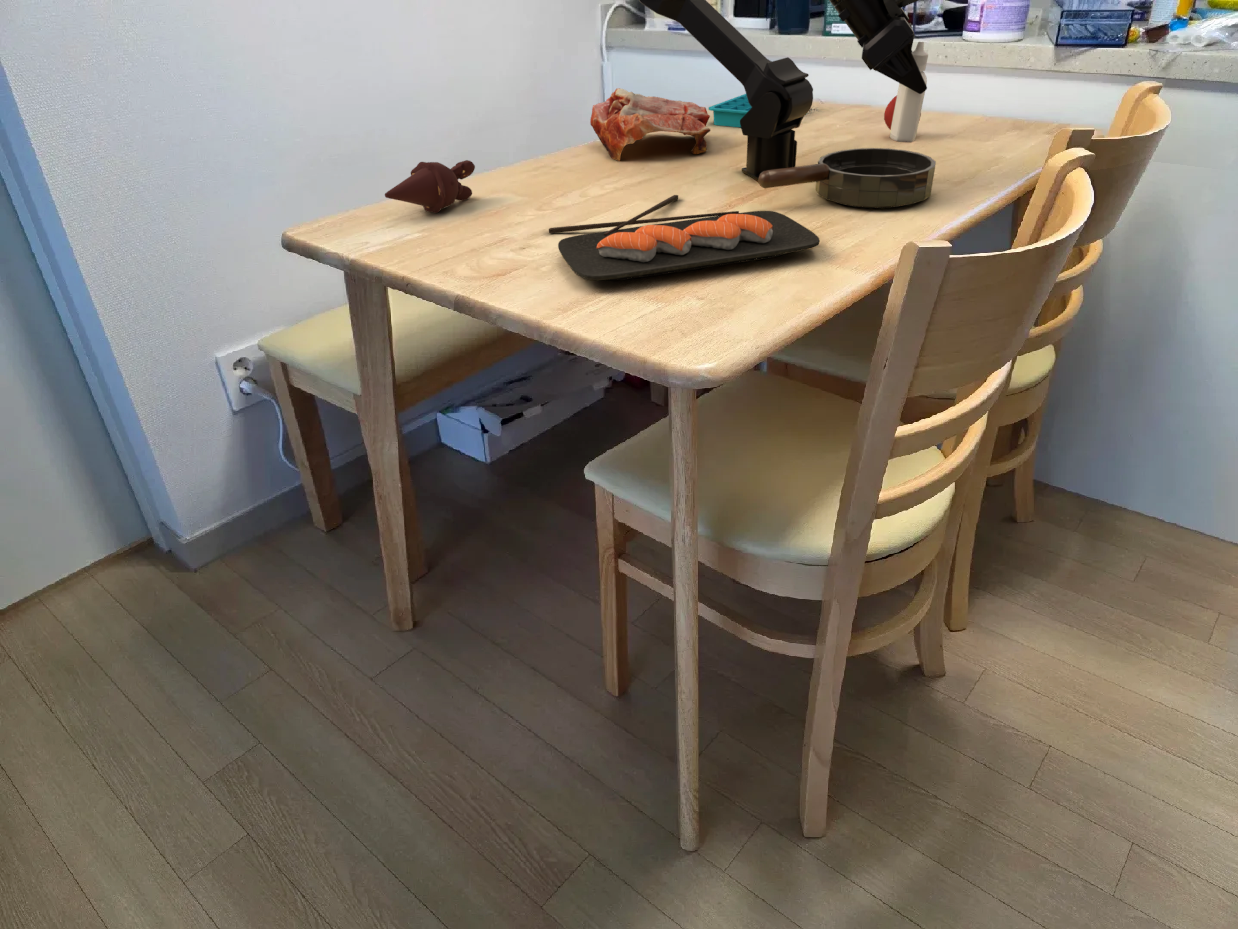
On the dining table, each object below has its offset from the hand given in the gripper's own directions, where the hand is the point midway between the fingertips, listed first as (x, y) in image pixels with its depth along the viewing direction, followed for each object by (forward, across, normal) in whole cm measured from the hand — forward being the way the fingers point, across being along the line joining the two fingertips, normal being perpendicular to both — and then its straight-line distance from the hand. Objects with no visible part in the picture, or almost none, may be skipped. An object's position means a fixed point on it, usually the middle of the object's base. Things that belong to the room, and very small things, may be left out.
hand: (922, 87), depth 110 cm
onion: (+9, +30, +9) cm, 32 cm away
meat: (-18, +20, +40) cm, 48 cm away
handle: (-3, -12, +18) cm, 22 cm away
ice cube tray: (-8, +46, +28) cm, 54 cm away
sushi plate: (-10, -26, +31) cm, 42 cm away
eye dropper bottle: (+4, 0, +6) cm, 7 cm away
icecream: (-33, -19, +57) cm, 69 cm away
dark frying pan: (+6, -6, +12) cm, 15 cm away
